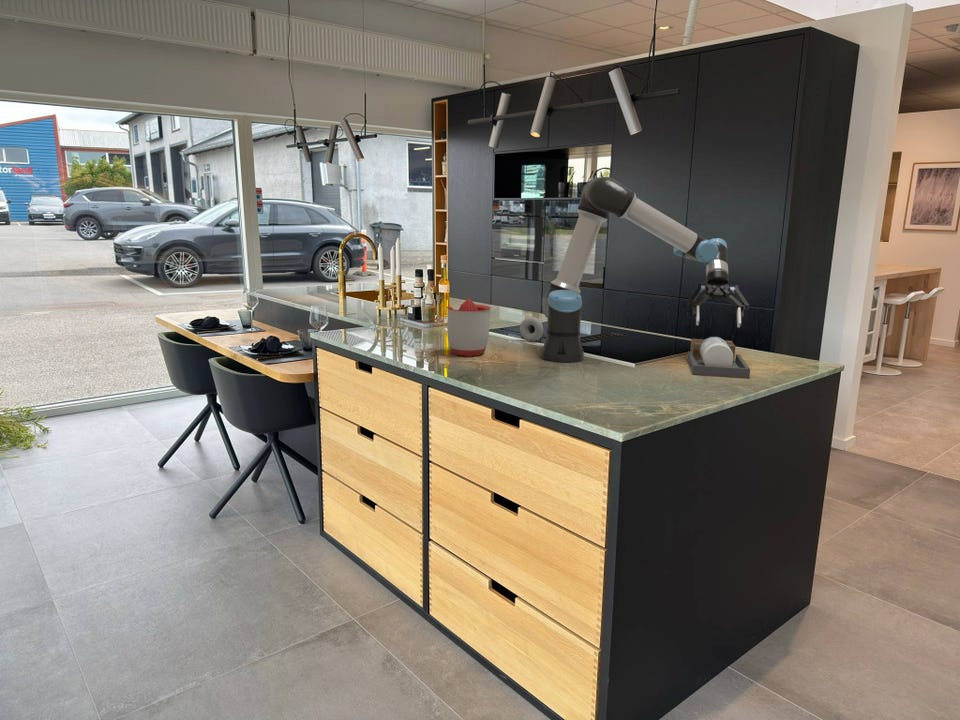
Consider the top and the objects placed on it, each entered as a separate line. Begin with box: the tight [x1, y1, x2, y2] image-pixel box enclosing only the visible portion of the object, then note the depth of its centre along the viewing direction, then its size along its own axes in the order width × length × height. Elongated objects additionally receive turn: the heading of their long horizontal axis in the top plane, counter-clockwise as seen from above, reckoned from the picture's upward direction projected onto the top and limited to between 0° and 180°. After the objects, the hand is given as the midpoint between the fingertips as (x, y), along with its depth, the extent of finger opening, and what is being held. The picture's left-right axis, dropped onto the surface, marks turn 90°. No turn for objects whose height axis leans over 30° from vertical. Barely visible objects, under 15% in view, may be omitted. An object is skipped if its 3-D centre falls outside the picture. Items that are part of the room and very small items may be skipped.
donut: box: [519, 316, 544, 342], centre depth 268 cm, size 10×4×10 cm, turn 61°
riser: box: [689, 338, 736, 362], centre depth 243 cm, size 10×14×6 cm
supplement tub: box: [700, 336, 733, 367], centre depth 227 cm, size 10×10×15 cm
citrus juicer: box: [446, 298, 491, 357], centre depth 244 cm, size 16×17×20 cm
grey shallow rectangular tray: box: [686, 351, 751, 379], centre depth 229 cm, size 22×17×3 cm
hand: (718, 324), depth 232 cm, fingers open, 13 cm apart
